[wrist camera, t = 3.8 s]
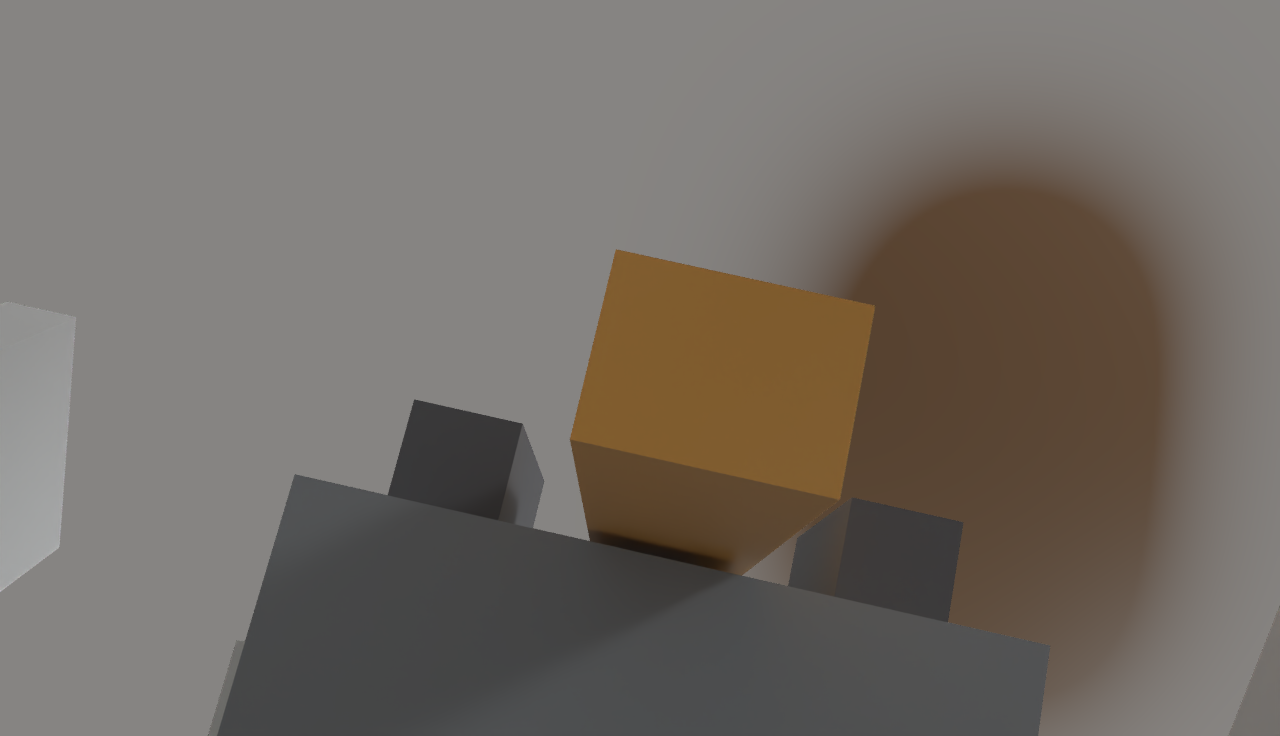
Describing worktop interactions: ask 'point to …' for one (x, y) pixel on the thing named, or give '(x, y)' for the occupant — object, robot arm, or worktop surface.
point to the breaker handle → (714, 412)
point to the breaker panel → (599, 620)
